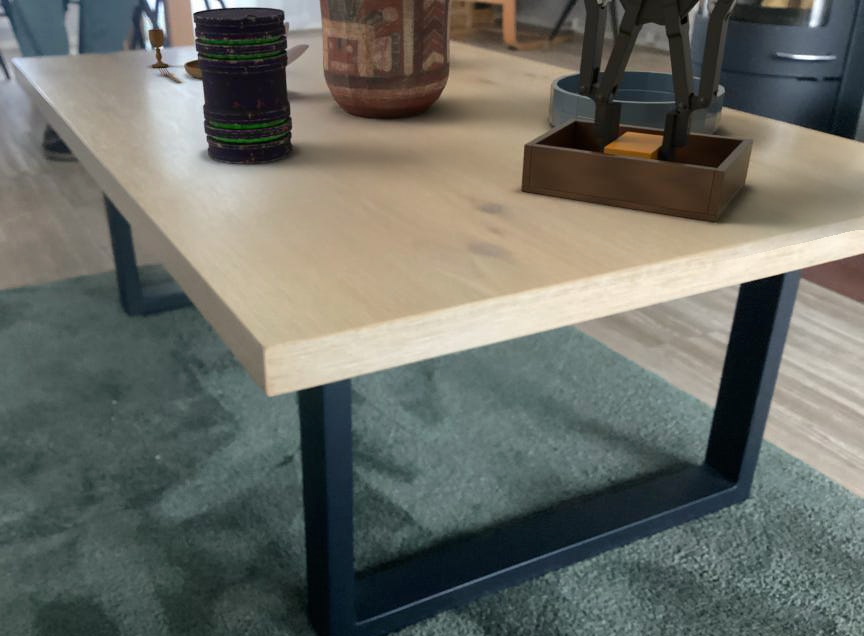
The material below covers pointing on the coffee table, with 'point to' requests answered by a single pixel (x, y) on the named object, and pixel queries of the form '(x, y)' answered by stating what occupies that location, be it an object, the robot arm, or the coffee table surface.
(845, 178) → the coffee table surface
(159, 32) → the place setting
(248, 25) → the storage jar
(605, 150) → the block
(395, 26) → the pottery
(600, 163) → the box
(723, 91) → the bowl
